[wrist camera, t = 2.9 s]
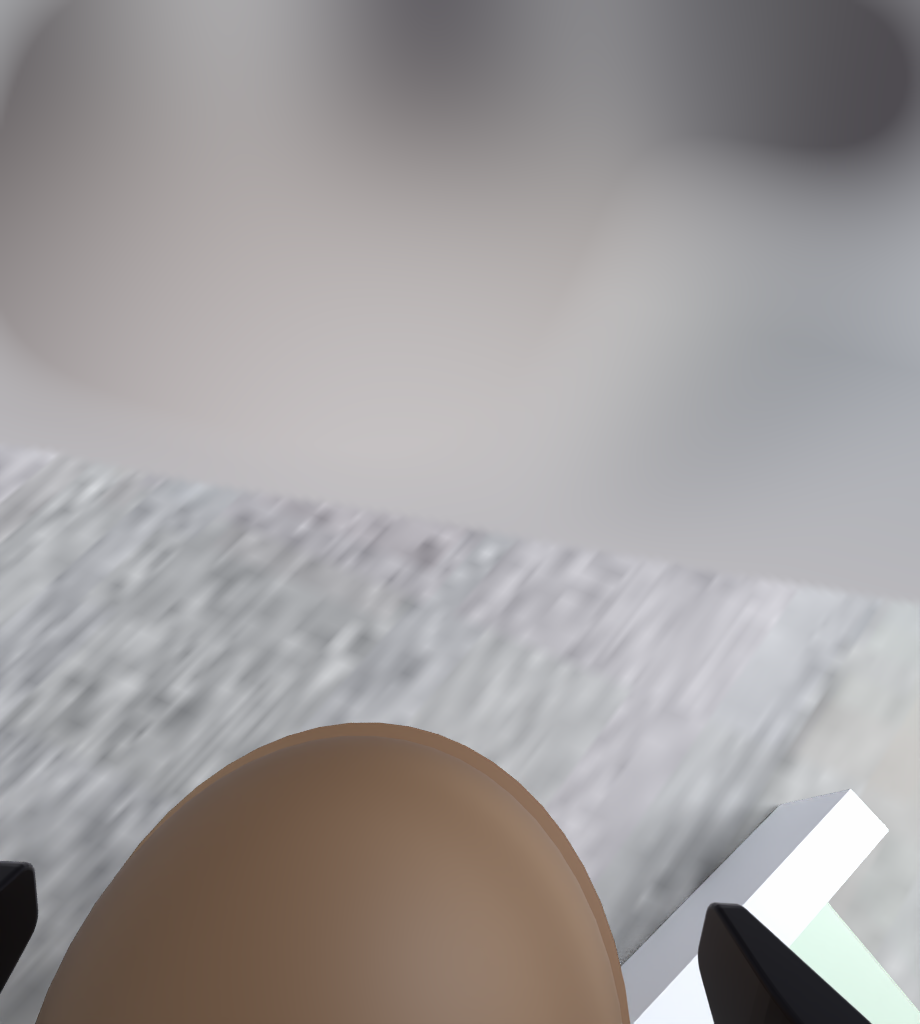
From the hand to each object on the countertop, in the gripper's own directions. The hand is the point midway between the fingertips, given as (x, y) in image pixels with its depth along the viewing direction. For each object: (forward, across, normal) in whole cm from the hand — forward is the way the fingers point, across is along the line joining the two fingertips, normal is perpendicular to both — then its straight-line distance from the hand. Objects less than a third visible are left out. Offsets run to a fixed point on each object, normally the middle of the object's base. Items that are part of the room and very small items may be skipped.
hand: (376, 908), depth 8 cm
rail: (+4, -6, +6) cm, 10 cm away
